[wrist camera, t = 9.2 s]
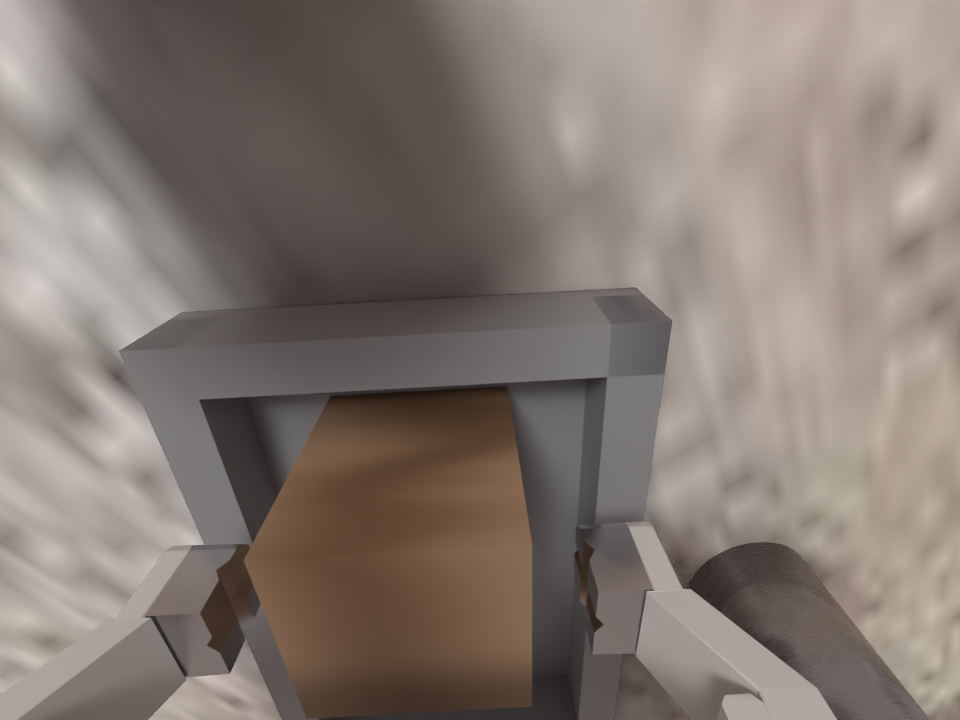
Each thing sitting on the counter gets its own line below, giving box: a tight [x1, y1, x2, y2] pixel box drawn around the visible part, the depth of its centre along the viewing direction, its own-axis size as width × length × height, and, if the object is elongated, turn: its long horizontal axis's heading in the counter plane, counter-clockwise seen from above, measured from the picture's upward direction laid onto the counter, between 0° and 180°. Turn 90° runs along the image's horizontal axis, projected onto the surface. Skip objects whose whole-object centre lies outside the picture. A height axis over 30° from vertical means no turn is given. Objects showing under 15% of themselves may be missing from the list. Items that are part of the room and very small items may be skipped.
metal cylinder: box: [689, 542, 930, 720], centre depth 13 cm, size 4×4×6 cm
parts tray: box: [119, 288, 672, 720], centre depth 14 cm, size 11×16×2 cm
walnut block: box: [244, 386, 532, 719], centre depth 10 cm, size 4×4×5 cm
